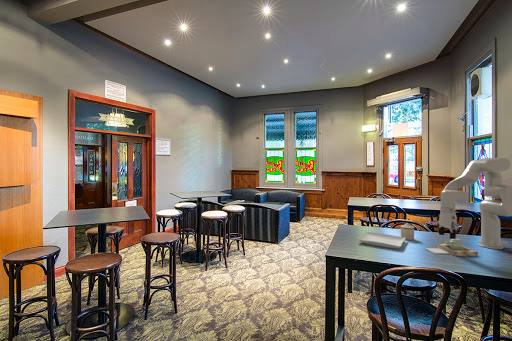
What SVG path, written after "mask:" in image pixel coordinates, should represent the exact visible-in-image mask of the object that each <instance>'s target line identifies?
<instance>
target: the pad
mask: <svg viewBox="0 0 512 341" xmlns="http://www.w3.org/2000/svg"><path fill="white" fill-rule="evenodd" d="M425 250H426V251H428V252H430V253H432V254H434V255H450V254H449V253H448V252H446V251H444V250H442V249H440V248H435V247H434V248H433V247H431V248H430V247H428V248H426V247H425Z"/></svg>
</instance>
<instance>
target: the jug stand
mask: <svg viewBox="0 0 512 341" xmlns="http://www.w3.org/2000/svg"><path fill="white" fill-rule="evenodd" d="M436 248H440V249H442V250H444V251H446V252H448V253H449V254H448V255H452V256H454V257H479V252H478V251H477V250H474V249H472V248H469V247H467V246H465V245H462V250H452V249H450V244H444V243H436Z"/></svg>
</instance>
